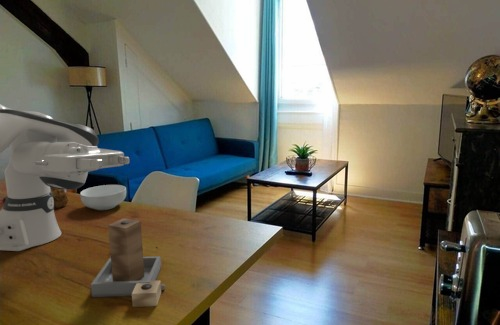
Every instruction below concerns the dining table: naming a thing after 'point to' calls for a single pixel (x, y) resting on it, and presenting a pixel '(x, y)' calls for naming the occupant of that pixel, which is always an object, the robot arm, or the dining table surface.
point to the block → (126, 250)
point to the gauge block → (147, 293)
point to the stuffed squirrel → (59, 197)
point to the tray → (108, 288)
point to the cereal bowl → (103, 196)
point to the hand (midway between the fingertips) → (114, 162)
